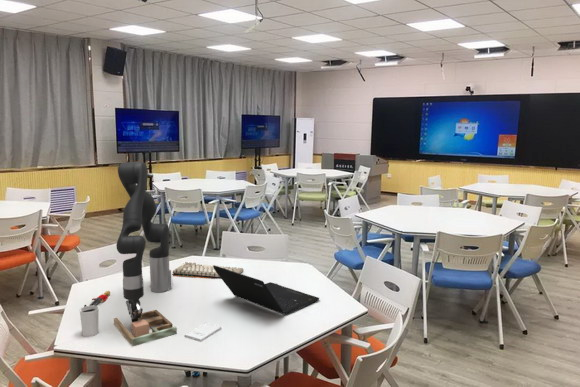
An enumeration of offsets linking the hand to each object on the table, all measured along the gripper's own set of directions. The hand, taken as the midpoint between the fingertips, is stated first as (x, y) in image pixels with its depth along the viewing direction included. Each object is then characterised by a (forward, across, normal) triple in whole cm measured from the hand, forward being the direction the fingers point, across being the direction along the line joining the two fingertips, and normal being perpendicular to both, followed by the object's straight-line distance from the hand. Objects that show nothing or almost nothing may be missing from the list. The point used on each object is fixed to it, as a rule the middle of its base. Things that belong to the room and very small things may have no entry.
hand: (135, 326), depth 175 cm
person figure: (+1, +37, +4) cm, 38 cm away
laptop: (+2, -10, -57) cm, 58 cm away
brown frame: (+1, -2, -3) cm, 4 cm away
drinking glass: (+1, +6, +15) cm, 17 cm away
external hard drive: (+2, -20, -20) cm, 28 cm away
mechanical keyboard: (+2, +45, -56) cm, 72 cm away
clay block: (+1, -7, 0) cm, 7 cm away
